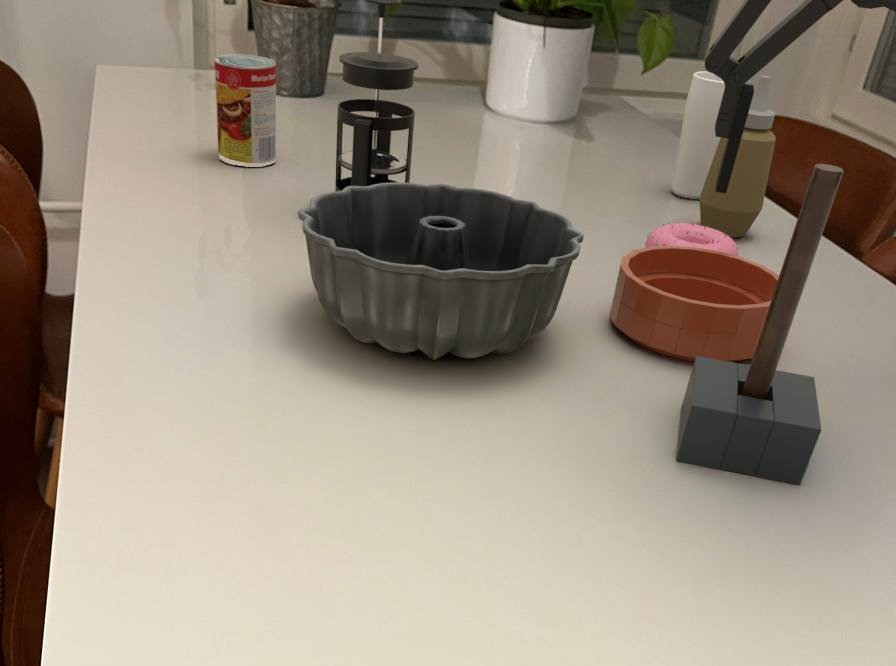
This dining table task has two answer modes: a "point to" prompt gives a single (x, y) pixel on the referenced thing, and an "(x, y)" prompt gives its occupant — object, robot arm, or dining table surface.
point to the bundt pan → (437, 266)
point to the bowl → (692, 302)
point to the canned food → (246, 107)
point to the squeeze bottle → (742, 172)
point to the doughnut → (691, 238)
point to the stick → (792, 278)
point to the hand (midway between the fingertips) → (815, 204)
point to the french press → (378, 75)
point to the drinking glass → (698, 135)
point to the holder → (748, 422)
